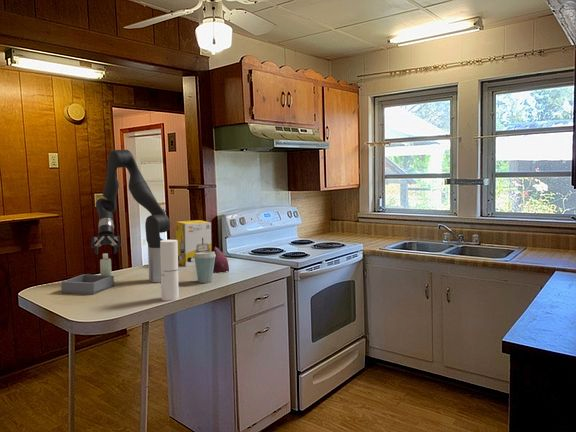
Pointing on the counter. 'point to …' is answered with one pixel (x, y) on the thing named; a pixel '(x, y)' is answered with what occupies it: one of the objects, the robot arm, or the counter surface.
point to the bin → (87, 284)
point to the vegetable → (220, 262)
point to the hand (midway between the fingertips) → (106, 253)
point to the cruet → (105, 265)
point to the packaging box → (192, 240)
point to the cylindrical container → (169, 270)
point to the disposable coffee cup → (205, 266)
